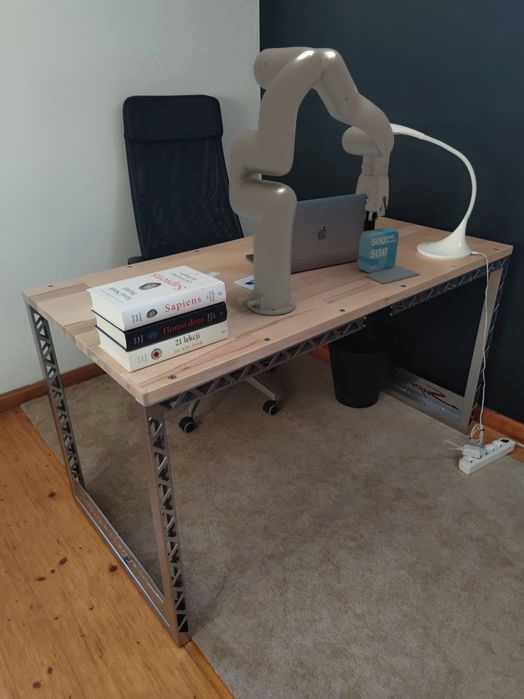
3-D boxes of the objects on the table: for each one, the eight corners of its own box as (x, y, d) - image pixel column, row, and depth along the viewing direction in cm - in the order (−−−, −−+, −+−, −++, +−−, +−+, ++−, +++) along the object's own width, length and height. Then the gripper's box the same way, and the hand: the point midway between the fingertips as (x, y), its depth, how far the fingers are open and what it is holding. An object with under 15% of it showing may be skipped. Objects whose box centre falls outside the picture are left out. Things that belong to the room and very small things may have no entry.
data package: (366, 274, 155) (370, 235, 150) (356, 269, 159) (360, 232, 153) (395, 267, 161) (399, 229, 155) (384, 263, 164) (389, 226, 159)
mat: (383, 284, 148) (383, 283, 147) (364, 276, 154) (364, 275, 153) (419, 274, 155) (419, 273, 154) (400, 267, 161) (400, 266, 160)
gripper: (348, 168, 153) (343, 228, 162) (383, 175, 142) (376, 239, 151) (366, 166, 157) (361, 225, 166) (402, 173, 146) (394, 235, 155)
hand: (368, 231), depth 158 cm, fingers closed
